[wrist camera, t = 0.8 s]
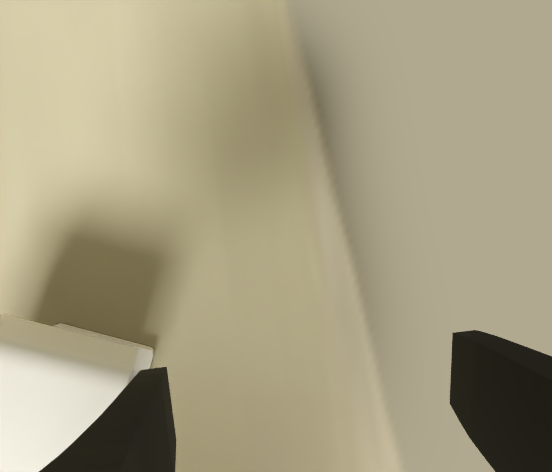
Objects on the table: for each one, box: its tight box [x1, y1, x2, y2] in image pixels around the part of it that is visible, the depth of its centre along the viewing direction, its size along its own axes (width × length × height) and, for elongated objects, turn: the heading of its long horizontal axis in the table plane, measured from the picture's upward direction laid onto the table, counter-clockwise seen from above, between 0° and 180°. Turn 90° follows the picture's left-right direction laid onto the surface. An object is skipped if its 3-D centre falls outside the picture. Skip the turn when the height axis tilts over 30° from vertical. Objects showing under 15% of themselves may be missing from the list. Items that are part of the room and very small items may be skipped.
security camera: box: [0, 314, 154, 472], centre depth 21 cm, size 6×7×10 cm
